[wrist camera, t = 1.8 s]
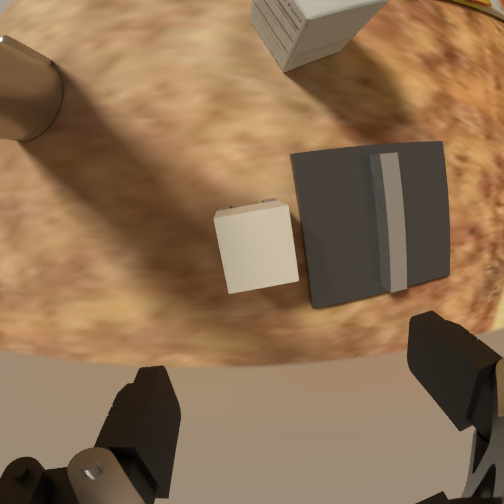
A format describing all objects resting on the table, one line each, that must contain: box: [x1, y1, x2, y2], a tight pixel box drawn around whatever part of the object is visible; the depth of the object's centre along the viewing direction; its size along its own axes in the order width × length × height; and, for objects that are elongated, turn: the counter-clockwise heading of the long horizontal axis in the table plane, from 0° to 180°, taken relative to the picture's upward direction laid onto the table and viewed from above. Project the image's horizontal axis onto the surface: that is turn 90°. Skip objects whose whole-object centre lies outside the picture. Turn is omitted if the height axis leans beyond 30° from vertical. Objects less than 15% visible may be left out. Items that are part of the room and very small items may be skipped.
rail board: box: [290, 141, 450, 309], centre depth 30 cm, size 16×18×4 cm
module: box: [214, 198, 299, 294], centre depth 28 cm, size 6×6×8 cm
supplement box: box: [250, 0, 389, 73], centre depth 21 cm, size 7×7×13 cm
